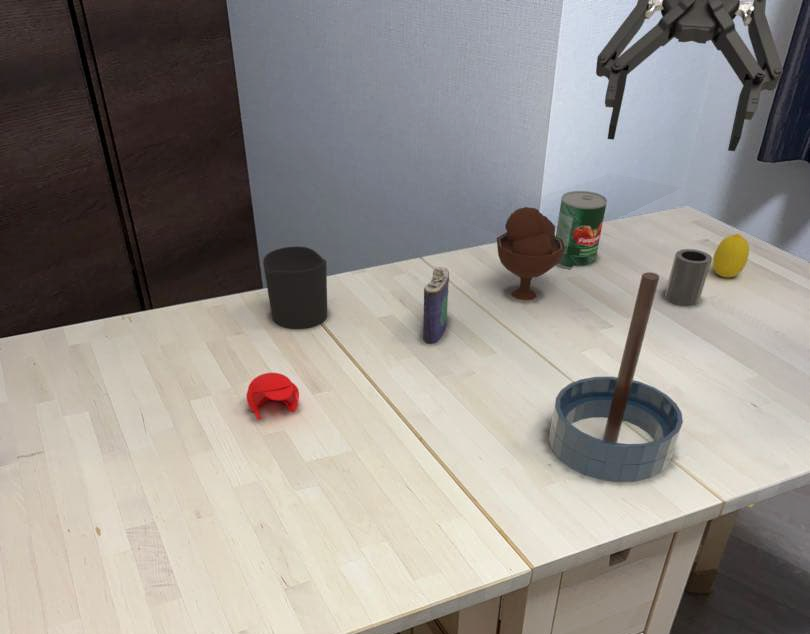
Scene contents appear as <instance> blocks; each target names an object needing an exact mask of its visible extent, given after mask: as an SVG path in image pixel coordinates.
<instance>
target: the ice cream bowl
mask: <svg viewBox="0 0 810 634" xmlns="http://www.w3.org/2000/svg"><path fill="white" fill-rule="evenodd" d="M504 227H505V229H506V230H505V231H506V232H504V233H502V234H501V235H499V236H496V247H497V255H498V258H499V262H500V263H501V264H502V266H503V267H504V268H505V269H506V270H507V271H508V272H510V273H511V274H513V275H515V276H516V277H519V279H520V281H519V287H518V288H515V289H514V290H512V291H511V292H510V296H511V297H512V298H514V299H515V300H518V301H519V300H520V301H524V302H525V301H533V300H535V299H536V298H537V297H538V294H537V292H535V291H534V290H532V289H531V281H532V279H533V278H538V277H540V276H543V275H545V274H546V273H547V272H549V271H551V270H552V269H553V268H554V267H556V266H558V265H557V264H558V262H559V261H560V259H561V258H562V255H563V252H564V250H565V247H564V243H563V240H562V239H560V238H558V237H556V226H555V224H554V223H553V222H552V221H551V220H550V219H549V217H547V216H545V215H544V214H542V213H541V212H540V211H539V209H537V208H535V207H528V206H524V207H520V208H518V209H516V210H514V211H513V212H512V213H510V215H509V217H508V218H507V219H506V223H505V225H504Z"/></svg>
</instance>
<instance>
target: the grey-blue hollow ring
mask: <svg viewBox="0 0 810 634" xmlns="http://www.w3.org/2000/svg"><path fill="white" fill-rule="evenodd" d="M617 377H618V376H591V377H587V378H581V379H578V380H575V381H573V382H569V384H567V385H565V387H563V388H562V389H560V391H559V392H558V394H557V395H556V397H555V400H554V406H553V412H552V417H551V423H550V428H549V436H548V442H549V445H550V448H551V451H552V452H553V453H554V455H555V456H556V457H557V458H558V460H559V461H560V462H562V463H563V464H565V465H566V466H567V467H568V468H570V469H572V470H574V471H576V472H578V473H580V474H582V475H584V476H587V477H590V478H594V479H597V480H601V481H608V482H616V483H628V482H630V483H632V482H638V481H643V480H647V479H650V478H653V477H655V476H656V475H659V474H661V473H662V472H663V471H664V470H665V469H666V468H668V466H669V465H670V462H671V460H672V457H673V453H674V451H675V448H676V445H677V441H678V438H679V435H680V433H681V430H682V426H683V423H684V419H683V414H682V411H681V409H680V407H679V406H678V404H677V403H676V402H675V401H674V400H673V399H672V398H671V397H670V396H669V395H668V394H666V393H664V392H663V391H661V390H660V389H658V388H656V387H655V386H651V385H649V384H647V383H645V382H641V381H638V380H635V379H633V382H632V386H631V390H630V394H629V397H628V401H627V405H626V409H625V413H624V417H623V421H624V422H627V423H629V424H632V425H634V426H637V427H638V428H640V429H642V431H644V432H645V433H647V434H648V435H649V436H650V437H651V438H652V439H653V441H649V442H643V443H621V442H617V443H615V442H609V441H605V440H603V439H601V438H598V437H595V436H592V435H591V434H588V433H586V432H583V431H582V430H580V429H579V428H577V427H576V426H574V425H573V424H574V423H576V422H579V421H581V420H586V419H592V418H607V419H608V415H609V411H610V407H611V402H612V398H613V394H614V390H615V386H616V382H617ZM623 421H622V422H623Z"/></svg>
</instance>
